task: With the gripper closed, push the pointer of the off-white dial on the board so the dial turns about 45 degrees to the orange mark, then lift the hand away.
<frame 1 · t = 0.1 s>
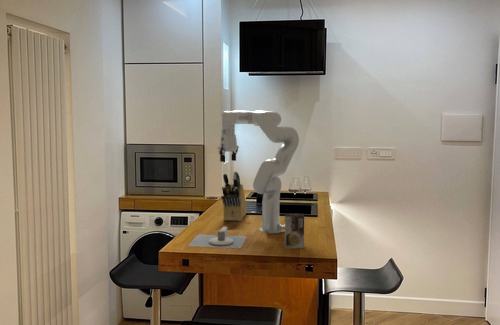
hand: (228, 161, 301), 37 cm above the kitchen counter, tool pointing down, fingers open, 9 cm apart
dial board: (218, 243, 255), on the kitchen counter
coffee box: (294, 247, 251), on the kitchen counter
dial: (222, 235, 254), point 4 cm above the kitchen counter, hinge at 0.0°
knife block: (234, 218, 317), on the kitchen counter
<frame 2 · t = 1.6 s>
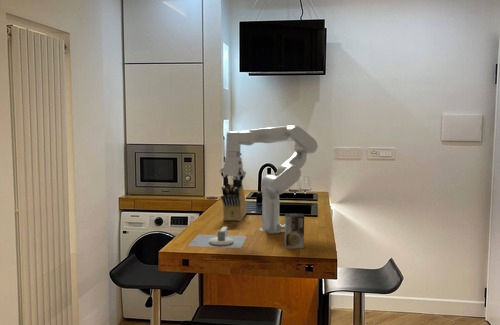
hand: (232, 186, 271), 26 cm above the kitchen counter, tool pointing down, fingers open, 9 cm apart
nothing on the kitchen counter moved.
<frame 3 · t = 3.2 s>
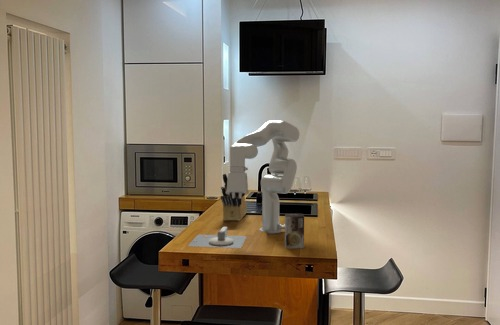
hand: (237, 205, 255), 19 cm above the kitchen counter, tool pointing down, fingers closed
nothing on the kitchen counter moved.
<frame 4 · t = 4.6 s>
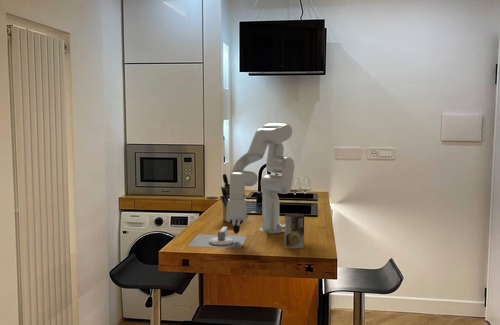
hand: (236, 233, 256), 5 cm above the kitchen counter, tool pointing down, fingers closed
nothing on the kitchen counter moved.
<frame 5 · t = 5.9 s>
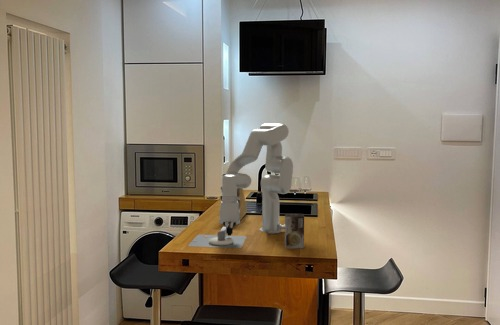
hand: (229, 235, 257), 4 cm above the kitchen counter, tool pointing down, fingers closed
dial: (222, 235, 254), point 4 cm above the kitchen counter, hinge at 0.4°, touching gripper
everything else where it was.
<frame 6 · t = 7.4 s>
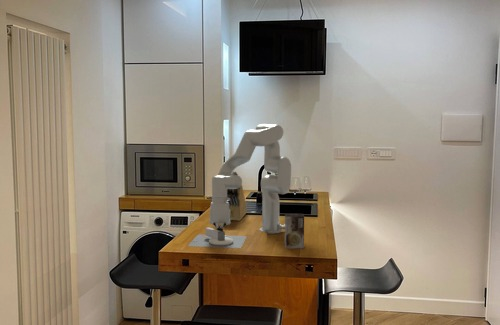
hand: (220, 235, 258), 3 cm above the kitchen counter, tool pointing down, fingers closed
dial: (217, 236, 254), point 4 cm above the kitchen counter, hinge at 46.2°, touching gripper
everything else where it was.
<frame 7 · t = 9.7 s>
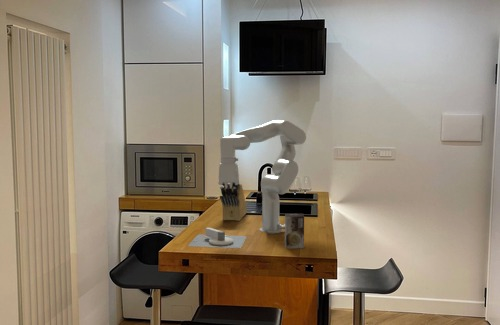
hand: (229, 195, 263), 23 cm above the kitchen counter, tool pointing down, fingers closed
dial: (217, 236, 254), point 4 cm above the kitchen counter, hinge at 46.7°
everything else where it was.
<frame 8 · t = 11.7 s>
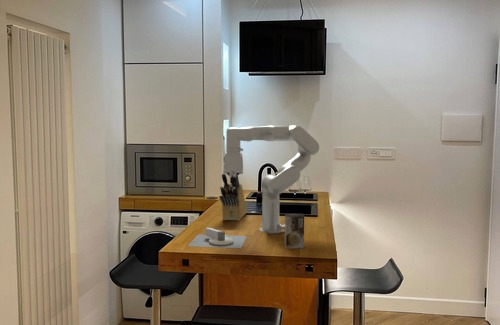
hand: (233, 184, 275), 27 cm above the kitchen counter, tool pointing down, fingers closed
nothing on the kitchen counter moved.
at the end: dial at +47° (first picture: +0°) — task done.
